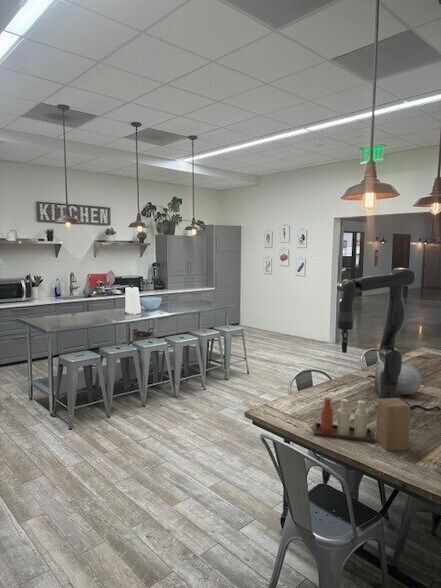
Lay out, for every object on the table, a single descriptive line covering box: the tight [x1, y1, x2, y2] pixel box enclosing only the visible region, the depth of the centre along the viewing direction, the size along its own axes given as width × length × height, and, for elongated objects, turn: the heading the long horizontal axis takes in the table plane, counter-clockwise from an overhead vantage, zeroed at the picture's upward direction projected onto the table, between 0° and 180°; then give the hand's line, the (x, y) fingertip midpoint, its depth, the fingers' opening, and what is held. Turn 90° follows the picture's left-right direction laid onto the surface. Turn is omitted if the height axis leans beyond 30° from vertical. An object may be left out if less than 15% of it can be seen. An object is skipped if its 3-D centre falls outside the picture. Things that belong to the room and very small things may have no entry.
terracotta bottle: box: [320, 396, 334, 434], centre depth 183 cm, size 5×5×16 cm
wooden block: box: [375, 398, 412, 452], centre depth 171 cm, size 10×10×20 cm
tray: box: [313, 422, 375, 444], centre depth 182 cm, size 26×11×2 cm, turn 75°
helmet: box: [365, 360, 422, 396], centre depth 234 cm, size 19×18×30 cm
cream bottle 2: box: [353, 400, 369, 438], centre depth 179 cm, size 5×5×16 cm
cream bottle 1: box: [336, 398, 351, 436], centre depth 181 cm, size 5×5×16 cm
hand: (344, 350), depth 203 cm, fingers open, 8 cm apart
